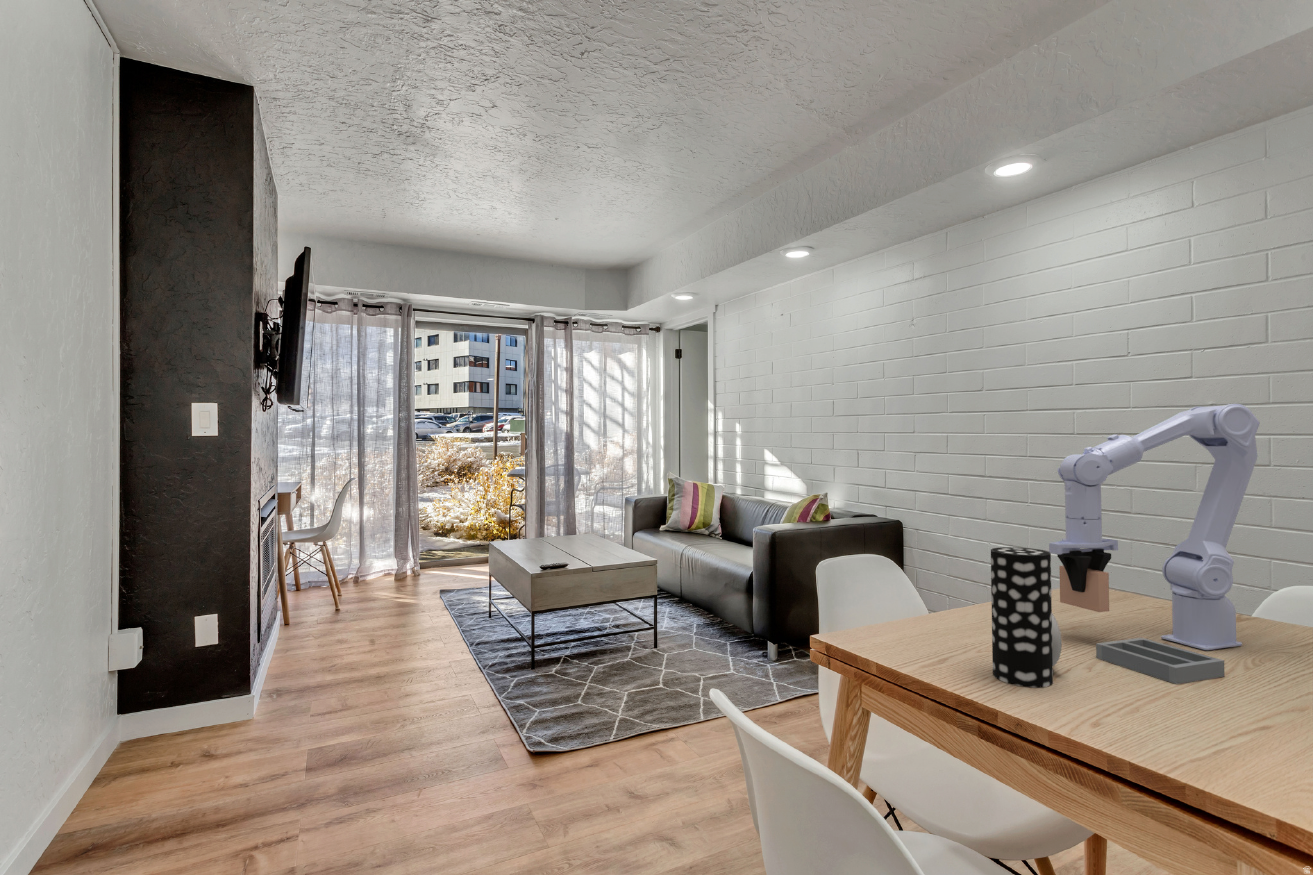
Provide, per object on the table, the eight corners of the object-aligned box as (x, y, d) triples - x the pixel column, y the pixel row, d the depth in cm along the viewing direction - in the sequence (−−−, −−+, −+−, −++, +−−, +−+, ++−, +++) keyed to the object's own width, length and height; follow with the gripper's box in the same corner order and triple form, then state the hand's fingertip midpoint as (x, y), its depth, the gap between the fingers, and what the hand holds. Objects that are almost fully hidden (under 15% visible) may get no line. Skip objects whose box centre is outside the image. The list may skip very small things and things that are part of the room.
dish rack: (1141, 651, 115) (1141, 637, 115) (1224, 676, 103) (1224, 660, 103) (1096, 657, 112) (1096, 643, 112) (1176, 684, 99) (1175, 667, 99)
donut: (1066, 678, 103) (1065, 614, 103) (1042, 676, 103) (1041, 613, 103) (1040, 657, 112) (1039, 599, 112) (1018, 656, 113) (1017, 599, 113)
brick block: (1070, 601, 126) (1069, 565, 126) (1109, 611, 118) (1108, 572, 119) (1060, 602, 125) (1059, 565, 126) (1098, 612, 118) (1098, 573, 118)
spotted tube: (980, 673, 105) (978, 549, 105) (1017, 666, 108) (1015, 545, 108) (1027, 691, 97) (1025, 557, 98) (1065, 682, 100) (1063, 553, 101)
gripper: (1093, 514, 128) (1094, 583, 128) (1034, 517, 124) (1036, 588, 124) (1128, 518, 121) (1129, 591, 121) (1067, 521, 117) (1069, 596, 117)
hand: (1084, 590), depth 122 cm, fingers closed on brick block, 2 cm apart
